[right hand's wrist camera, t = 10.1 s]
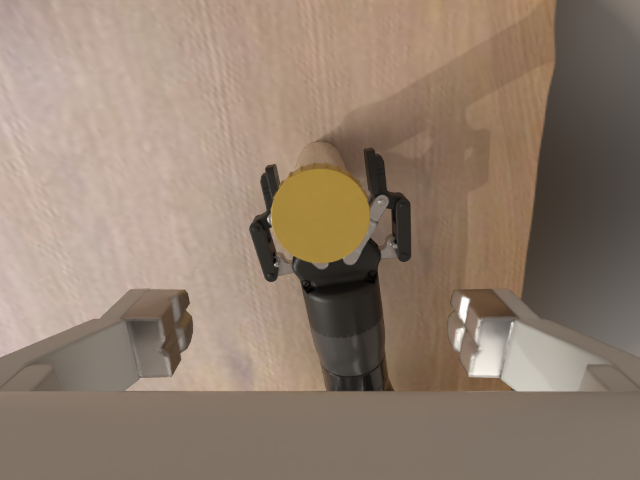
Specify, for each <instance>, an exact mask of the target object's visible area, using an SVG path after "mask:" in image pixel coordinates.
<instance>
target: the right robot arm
mask: <svg viewBox="0 0 640 480" xmlns="http://www.w3.org/2000/svg"><path fill="white" fill-rule="evenodd" d="M189 304H190V302H189V297H188V293H187V292H186V290H174V289H131V290H129V291H128V292H127V293H126V294H125V295H124V296H123V297H122V298H121V299H120V300H119V301H118V302H117V303H116V304H115V305H113V306H112V307H111V308H110V309H109V310H108V311H107V312H106V313H105V314H104V315H103V316H102V317H101V318H100V319H92V320H90V321H88V322H85V323H83V324H80V325H78V326H75V327H73V328H71V329H68V330H66V331H63V332H61V333H59V334H56V335H54V336H51V337H49V338H47V339H44V340H42V341H39V342H37V343H34V344H32V345H30V346H27V347H25V348H22V349H20V350H18V351H15V352H13V353H10V354H8V355H5V356H3V357H1V358H0V480H640V358H639V357H637V356H634V355H632V354H629V353H627V352H625V351H622V350H620V349H617V348H615V347H613V346H610V345H608V344H605V343H603V342H601V341H598V340H596V339H593V338H591V337H589V336H586V335H584V334H581V333H579V332H576V331H574V330H572V329H569V328H567V327H564V326H562V325H560V324H557V323H555V322H552V321H550V320H548V319H540V318H539V317H538V316H537V315H536V314H535V313H534V312H533V311H532V310H531V309H530V308H529V307H528V306H527V305H526V304H524V303H523V302H522V301H521V300H520V299H519V298H518V297H517V296H516V295H515V294H514V293H513V292H512V291H511V290H509V289H471V290H454V291H453V293H452V296H451V301H450V304H451V305H452V307H453V309H454V311H453V312H452V313H451V314H450V315H449V316H448V322H447V333H448V339H449V342H450V344H451V346H452V348H453V349H454V350H456V351H457V352H459V353H460V356H459V361H460V363H461V364H462V366H463V368H464V370H465V372H466V373H467V375H468V377H488V378H501V380H502V381H504V382H505V383H506V384H508V385H509V386H510V387H511V388H513V389H514V390H515V391H125V390H126V389H127V388H129V387H130V386H131V385H133V384H134V383H135V382H137V381H138V380H139V378H152V377H172V375H173V373H174V372H175V370H176V368H177V366H178V364H179V363H180V361H181V356H180V353H181V352H183V351H184V350H186V349H187V348H188V346H189V344H190V342H191V338H192V334H193V321H192V316H191V315H190V314H189V313H188V312H187V311H186V309H187V307H188V305H189Z"/></svg>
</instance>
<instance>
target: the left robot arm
mask: <svg viewBox="0 0 640 480" xmlns="http://www.w3.org/2000/svg"><path fill="white" fill-rule="evenodd" d="M364 158H365V166H366V174H367V182H368V190H369V191H370V193H371V195H370V196H369V198H368V204H369V207H370V224H369V228H368V231H367V233H366V236H365V238H364V239H363V241H362V242H361V244H360V245H359V246H358V247H357V248H356V249H355V250H354V251H353V252H352V253H351V254H349V255H348V256H346V257H344V258H342V259H340V260H337V261H334V262H329V263H312V262H307V261H304V260H301V259H299V258H297V257H295V256H294V257H293V260H287V259H286V258H285V257H284V255H283V254H282V253H280V252H276V249H275V246H274V243H273V239H272V236H271V233H270V230H269V228H271V227H272V223H271V207H272V204H273V201H274V199H273V197H274V195H275V193H276V191H277V192H278V190H279V188H280V187H279V185H280V180H279V176H278V171H277V167H276V164H273V165H268V166H267V167H266V168H265V171H266V173H263V175H262V176H261V181H260V183H261V187H262V191H263V195H264V200H265V204H266V208H267V211H266V212H265V213H263V214H261V215H257V216H256V217H255V218H254V220H253V223H252V224H251V225H250V227H249V230H250V234H251V237H252V240H253V243H254V246H255V249H256V252H257V255H258V258H259V261H260V264H261V267H262V270H263V273H264V277H265V279H266V280H267V281H269V282H273V281H275V280H276V279H277V276H280V275H285V274H289V273H295V274H296V275H297V276H298V278H299V279H300V282H301V286H302V290H303V295H304V300H305V304H306V309H307V314H308V318H309V323H310V328H311V332H312V337H313V341H314V345H315V348H316V351H317V353H318V356H319V359H320V363H321V368H322V373H323V377H324V382H325V387H326V391H394V389H393V387H392V384H391V382H390V380H389V377H388V370H387V362H386V354H385V327H384V319H383V310H382V302H381V294H380V286H379V278H378V264H379V262H380V260H381V259H387V258H397V257H398V259H399V260H400V261H402V262H406V261H408V260H409V259H410V258H411V219H410V202H409V201H408V200H407V199H406V198H405V196H404V195H403V194H402V193H399V192H397V193H393V192H389V191H387V187H386V177H385V168H384V161H383V159H382V157H381V156H380V155H379V154H375V151H374V149H373V148H368V149H364ZM386 208H388V209H391V213H392V234H390V235H388V236H387V237H386V240H385V243H384V245H382V246H380V247H379V246H378V245H377V244H376V243H375V242H374V241H373V240H372V239H371V238H370V237H371V235H372V233H373V232H374V230H375V228H376V226H377V223H378V220H379V219H380V217H381V215H382V214H383V212H384V210H385V209H386Z"/></svg>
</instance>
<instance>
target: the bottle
mask: <svg viewBox="0 0 640 480" xmlns="http://www.w3.org/2000/svg"><path fill="white" fill-rule="evenodd" d="M313 162H315V163H326V162H328V164H332V165H335V166H338V165H339V166H340V168H342V169H344V170H346V171H347V169H346V167H345V164H344V162H343V160H342V157H341V155H340V153H339V151H338V150H337V149H336V147H334V146H333V145H332V144H330V143H327V142H323V141H318V142H314V143H311V144H309V145H308V146H306V147H305V148H304V150H303V151H302V152H301V154H300V157H299V159H298V162H297V164H296V166H295V169H294V171H295V170H297V169H299V168H300V166H306V165H310V164H313ZM294 171H293V172H294Z"/></svg>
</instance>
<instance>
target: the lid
mask: <svg viewBox="0 0 640 480" xmlns="http://www.w3.org/2000/svg"><path fill="white" fill-rule="evenodd" d="M279 187H280V188H279V190H278V192H277V191H276V193H275V195H274V197H273V199H274V201H273V204H272V207H271V223H272V227H273V231H274V233H275V236H276V238H277V239H278V241H279V242H280V244H281V245H282V246H283V247H284V248H285V249H286V250H287V251H288V252H289V253H291V254H292V255H294V256H295V257H297V258H299V259H301V260H304V261H307V262H312V263H329V262H334V261H337V260H340V259H342V258H344V257H346V256H348V255H349V254H351V253H352V252H353V251H354V250H355V249H356V248H357V247H358V246H359V245H360V244H361V242H362V241H363V239H364V238H365V236H366V233H367V231H368V228H369V224H370V207H369V204H368V200H367V198H368V197H367V195H366V193H365V191H363V190H362V188H361V184H360V182H359V180H358V181H357V180H356V179H355V178H354V177H353V176H352V174H351V172H350V171H349V172H347V171H346V170H344V169H342V168H340V166H339V165H338V166H335V165H332V164H328V162H326V163H315V162H313V164H310V165H306V166H300V168H299V169H297V170H295V171H294V172H290V173H289V176H288V177H287V178H286V179H285V180H284V181H282V182H281V184H280V185H279Z"/></svg>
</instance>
